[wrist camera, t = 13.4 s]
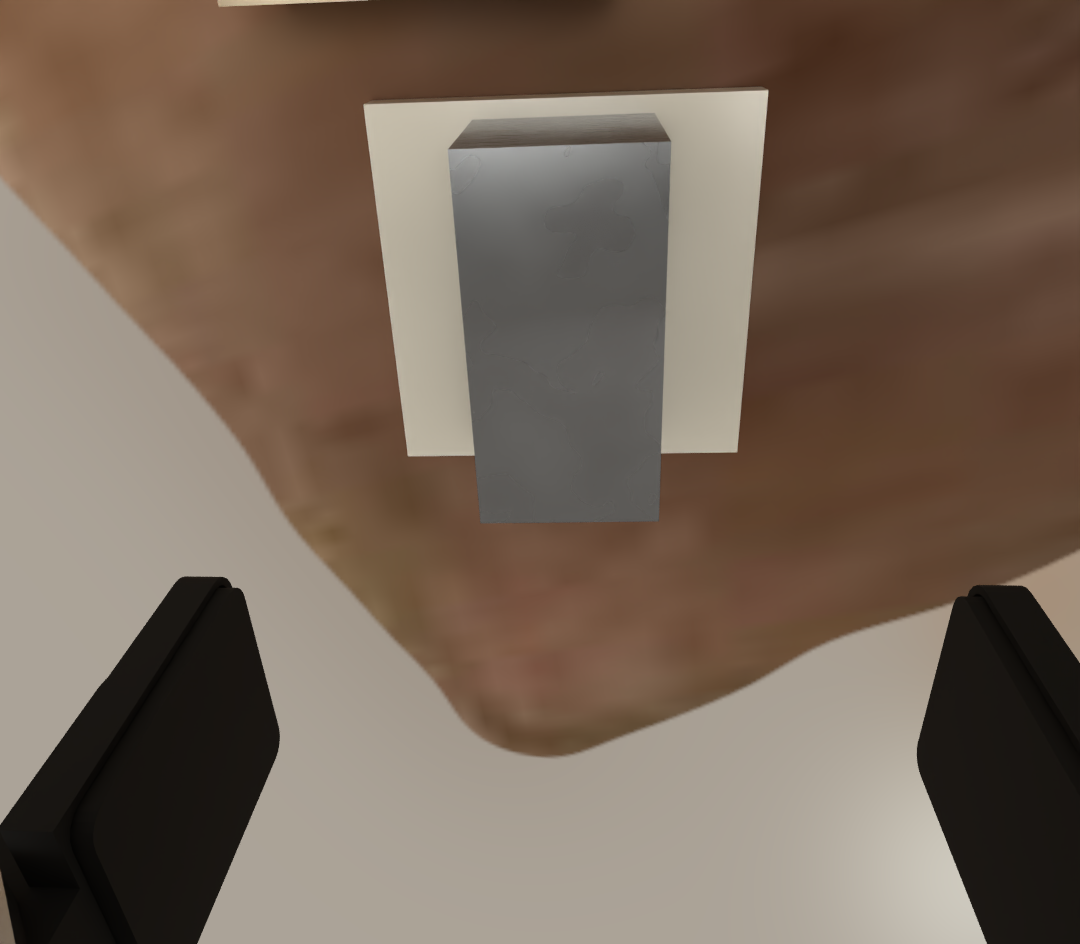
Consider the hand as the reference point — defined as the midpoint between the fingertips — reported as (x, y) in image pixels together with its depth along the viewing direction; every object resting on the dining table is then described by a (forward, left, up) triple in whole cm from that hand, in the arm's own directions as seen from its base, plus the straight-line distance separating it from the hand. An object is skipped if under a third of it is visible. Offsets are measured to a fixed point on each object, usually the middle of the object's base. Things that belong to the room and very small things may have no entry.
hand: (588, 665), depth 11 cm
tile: (+1, 0, -18) cm, 18 cm away
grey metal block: (+1, 0, -17) cm, 17 cm away
